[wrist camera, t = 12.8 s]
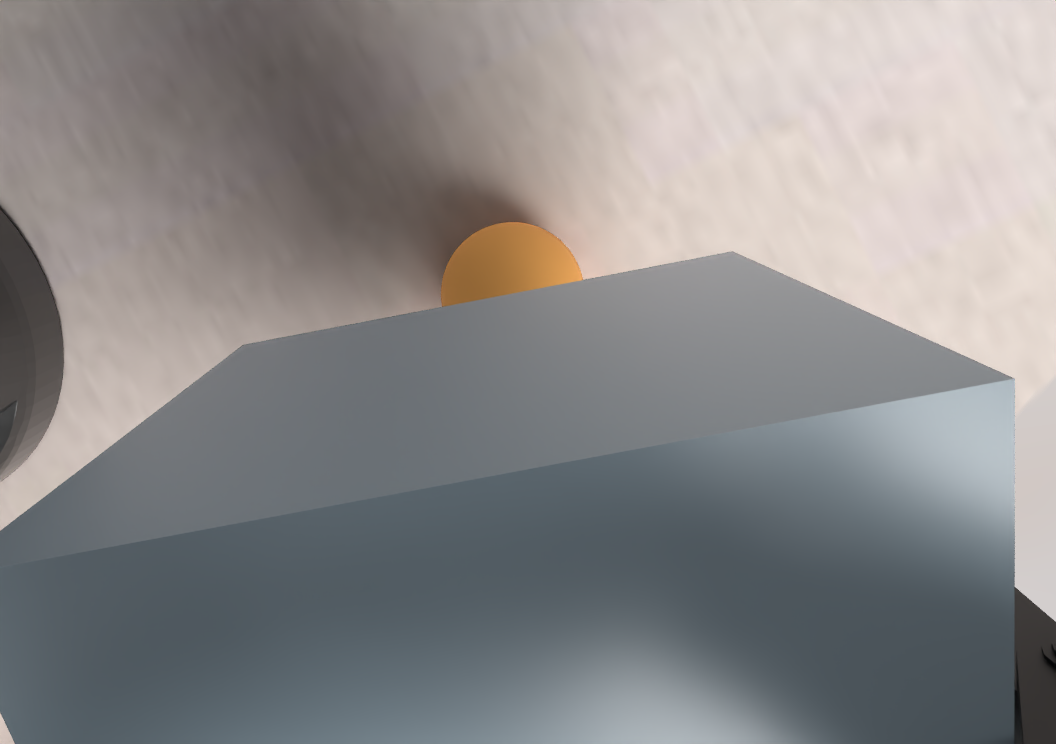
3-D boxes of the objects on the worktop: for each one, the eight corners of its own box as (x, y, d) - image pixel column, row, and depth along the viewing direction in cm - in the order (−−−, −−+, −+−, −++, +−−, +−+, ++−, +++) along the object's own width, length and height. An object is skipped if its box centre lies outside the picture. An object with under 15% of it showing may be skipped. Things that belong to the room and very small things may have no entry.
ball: (421, 292, 23) (420, 220, 27) (469, 411, 26) (462, 330, 30) (579, 248, 23) (555, 181, 27) (609, 372, 26) (583, 296, 30)
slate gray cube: (364, 741, 18) (249, 1240, 10) (243, 344, 16) (-63, 578, 7) (777, 667, 18) (1014, 1113, 10) (732, 251, 15) (1014, 378, 7)
